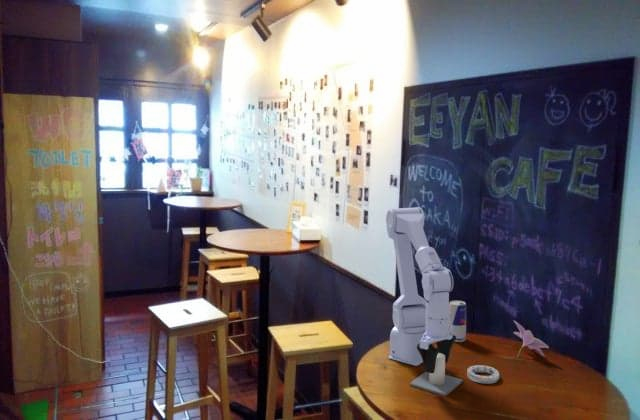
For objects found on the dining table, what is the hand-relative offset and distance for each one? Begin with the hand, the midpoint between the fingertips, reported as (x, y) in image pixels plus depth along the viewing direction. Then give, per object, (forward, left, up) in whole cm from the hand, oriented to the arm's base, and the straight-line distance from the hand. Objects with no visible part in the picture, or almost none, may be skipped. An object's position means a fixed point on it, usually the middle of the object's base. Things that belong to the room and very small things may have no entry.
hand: (436, 367), depth 136 cm
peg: (0, 0, -4) cm, 4 cm away
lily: (+13, +33, -5) cm, 36 cm away
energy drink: (-9, +32, -5) cm, 34 cm away
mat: (0, 0, -4) cm, 4 cm away
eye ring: (+8, +11, -4) cm, 14 cm away
